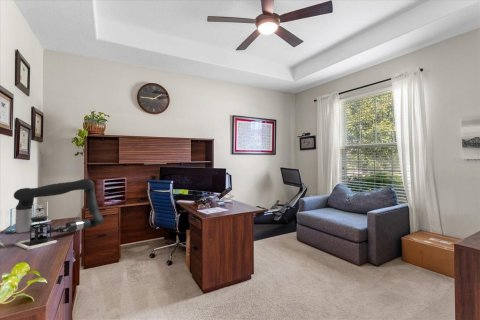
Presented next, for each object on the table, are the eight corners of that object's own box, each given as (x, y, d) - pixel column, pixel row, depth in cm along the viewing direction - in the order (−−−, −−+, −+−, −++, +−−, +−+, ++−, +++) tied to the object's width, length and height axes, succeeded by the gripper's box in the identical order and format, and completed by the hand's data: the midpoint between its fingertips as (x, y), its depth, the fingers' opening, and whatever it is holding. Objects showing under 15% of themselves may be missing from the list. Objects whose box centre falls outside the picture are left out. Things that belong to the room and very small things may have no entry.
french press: (25, 246, 147) (26, 210, 148) (31, 241, 156) (32, 207, 156) (48, 243, 152) (49, 209, 152) (52, 239, 161) (53, 206, 161)
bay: (14, 244, 150) (14, 242, 150) (43, 237, 164) (43, 236, 164) (27, 249, 142) (27, 247, 142) (56, 242, 155) (56, 240, 155)
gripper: (69, 219, 176) (42, 225, 161) (79, 222, 170) (52, 227, 155) (69, 229, 176) (42, 235, 161) (79, 232, 170) (51, 239, 155)
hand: (47, 231), depth 158 cm, fingers closed
